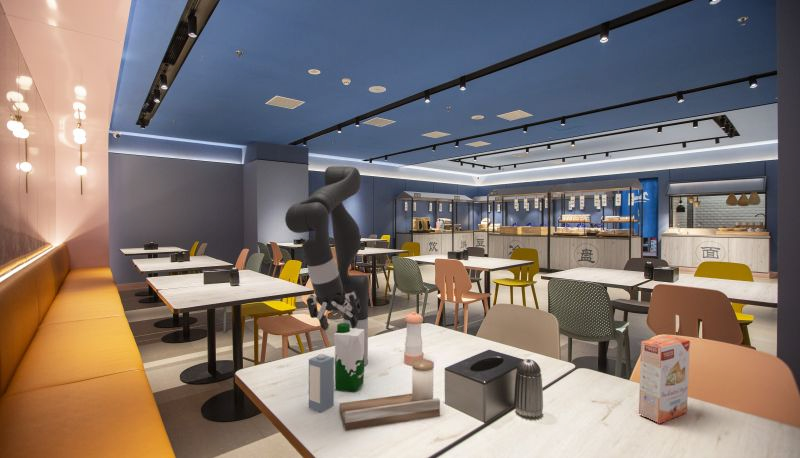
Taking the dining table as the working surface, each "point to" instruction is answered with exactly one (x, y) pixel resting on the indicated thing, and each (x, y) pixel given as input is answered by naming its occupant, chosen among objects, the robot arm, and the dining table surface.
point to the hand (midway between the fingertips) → (340, 327)
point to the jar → (422, 380)
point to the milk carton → (349, 358)
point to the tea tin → (321, 382)
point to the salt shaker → (413, 338)
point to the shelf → (386, 411)
